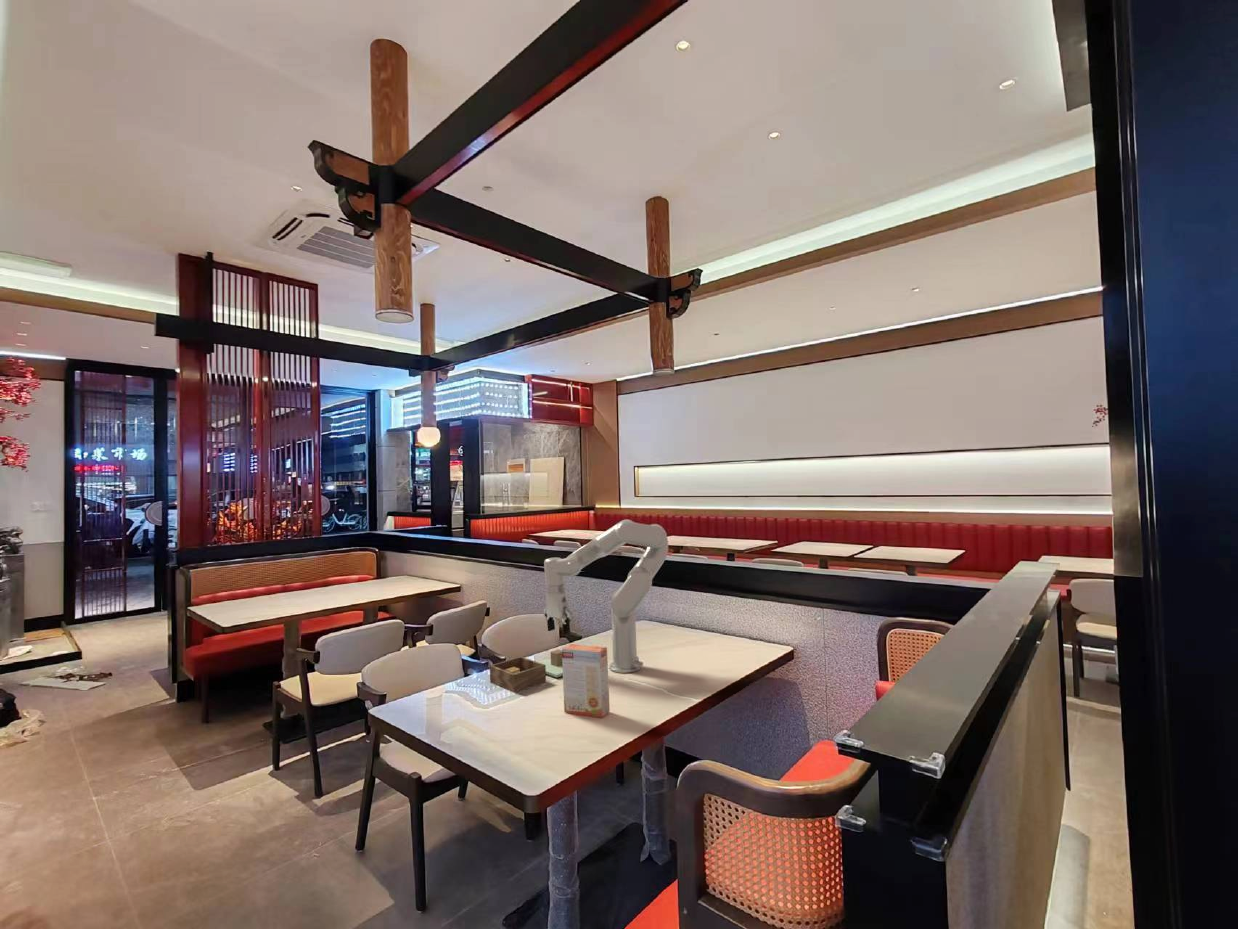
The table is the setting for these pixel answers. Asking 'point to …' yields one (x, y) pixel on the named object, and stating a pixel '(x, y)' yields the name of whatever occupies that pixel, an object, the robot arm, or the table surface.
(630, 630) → the robot arm
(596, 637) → the table surface
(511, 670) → the ochre block
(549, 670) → the lid
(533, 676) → the crate
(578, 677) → the cracker box
